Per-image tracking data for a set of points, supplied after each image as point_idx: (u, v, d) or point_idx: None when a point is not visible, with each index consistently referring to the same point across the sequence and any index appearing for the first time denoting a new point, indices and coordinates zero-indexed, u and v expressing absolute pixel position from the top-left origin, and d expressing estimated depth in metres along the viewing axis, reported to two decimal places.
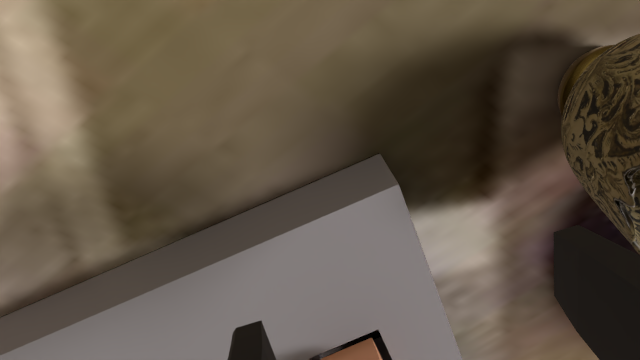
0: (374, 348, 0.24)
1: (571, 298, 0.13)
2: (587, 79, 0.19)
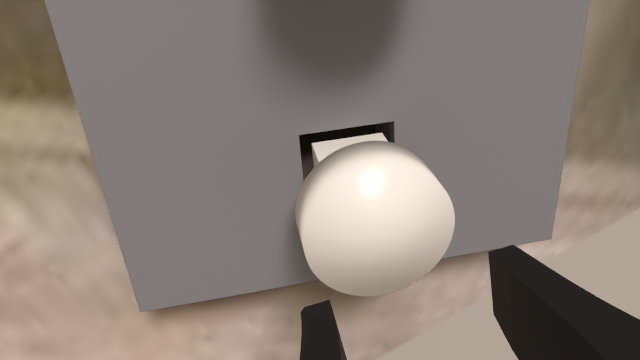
0: None
1: (506, 318, 0.13)
2: None
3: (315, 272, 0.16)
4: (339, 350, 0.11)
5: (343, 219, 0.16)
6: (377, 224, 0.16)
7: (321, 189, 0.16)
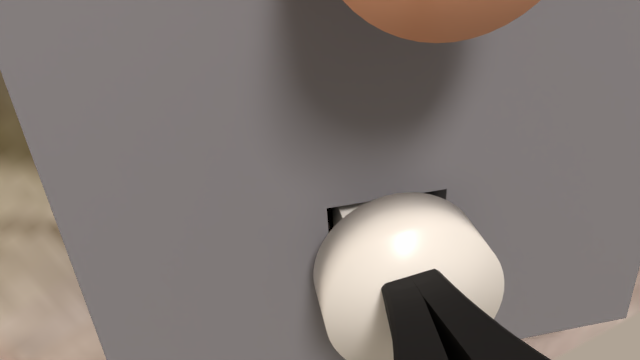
0: None
1: None
2: None
3: (338, 349, 0.14)
4: (432, 322, 0.11)
5: (373, 290, 0.13)
6: None
7: (347, 255, 0.13)
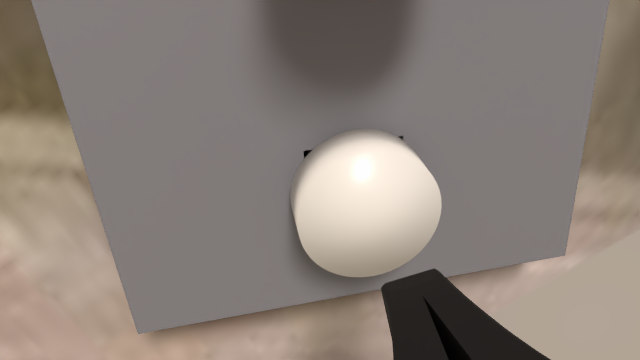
0: None
1: None
2: None
3: (309, 253, 0.17)
4: (432, 322, 0.11)
5: (335, 202, 0.17)
6: (367, 207, 0.17)
7: (314, 174, 0.16)
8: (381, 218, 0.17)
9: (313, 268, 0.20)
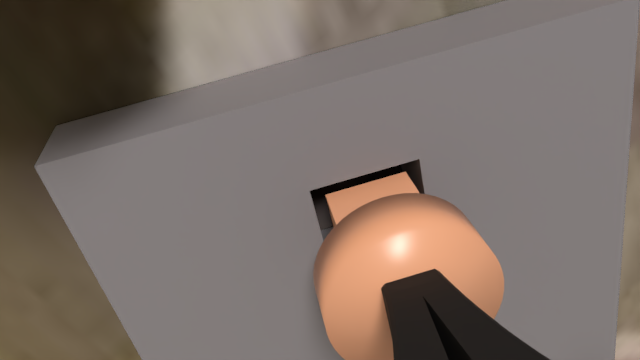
0: (329, 207, 0.16)
1: None
2: None
3: None
4: (432, 322, 0.11)
5: None
6: None
7: None
8: None
9: None
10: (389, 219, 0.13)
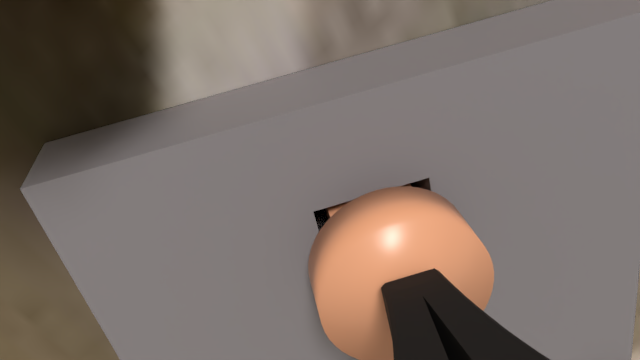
0: None
1: None
2: None
3: None
4: (432, 322, 0.11)
5: None
6: None
7: None
8: None
9: None
10: (381, 211, 0.13)
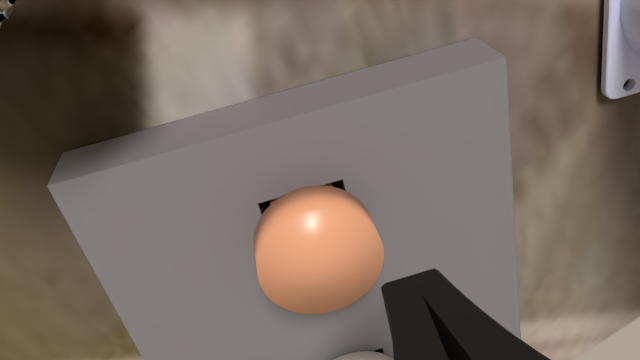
0: None
1: None
2: None
3: None
4: (432, 322, 0.11)
5: None
6: None
7: None
8: None
9: None
10: (300, 203, 0.19)
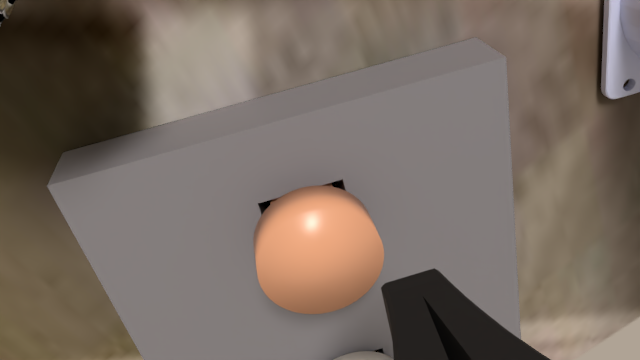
0: None
1: None
2: None
3: None
4: (432, 321, 0.11)
5: None
6: None
7: None
8: None
9: None
10: (300, 203, 0.19)
